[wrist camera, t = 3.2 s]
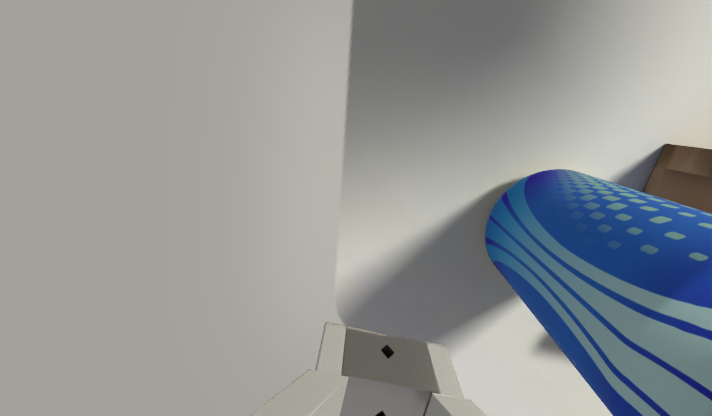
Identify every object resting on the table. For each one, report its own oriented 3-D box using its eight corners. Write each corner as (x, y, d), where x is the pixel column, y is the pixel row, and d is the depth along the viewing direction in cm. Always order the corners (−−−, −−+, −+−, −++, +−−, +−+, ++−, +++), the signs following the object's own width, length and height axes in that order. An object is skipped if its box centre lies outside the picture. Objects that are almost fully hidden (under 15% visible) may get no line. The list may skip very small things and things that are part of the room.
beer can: (462, 261, 25) (613, 513, 9) (505, 152, 22) (806, 252, 7) (568, 287, 25) (884, 575, 10) (622, 183, 22) (1162, 345, 7)
